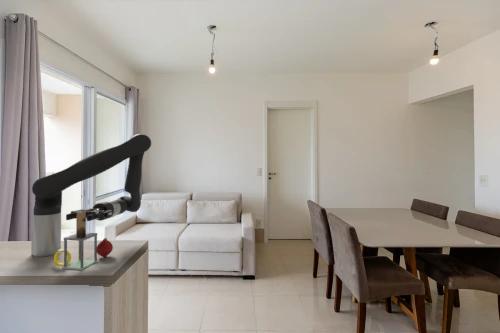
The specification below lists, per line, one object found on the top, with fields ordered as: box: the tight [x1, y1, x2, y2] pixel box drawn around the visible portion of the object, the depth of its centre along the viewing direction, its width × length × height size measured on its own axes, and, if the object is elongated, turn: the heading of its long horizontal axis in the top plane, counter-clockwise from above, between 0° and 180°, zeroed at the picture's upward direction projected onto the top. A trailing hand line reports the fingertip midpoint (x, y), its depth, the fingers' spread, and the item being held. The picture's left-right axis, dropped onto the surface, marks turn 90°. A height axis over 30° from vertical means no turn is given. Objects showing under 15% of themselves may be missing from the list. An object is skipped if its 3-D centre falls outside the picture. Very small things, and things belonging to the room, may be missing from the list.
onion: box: [97, 237, 114, 258], centre depth 103 cm, size 6×6×8 cm
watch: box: [53, 247, 72, 266], centre depth 95 cm, size 6×3×6 cm, turn 85°
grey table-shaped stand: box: [63, 211, 98, 268], centre depth 95 cm, size 8×8×20 cm
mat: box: [61, 258, 99, 271], centre depth 95 cm, size 8×8×1 cm
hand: (77, 217), depth 93 cm, fingers open, 8 cm apart
